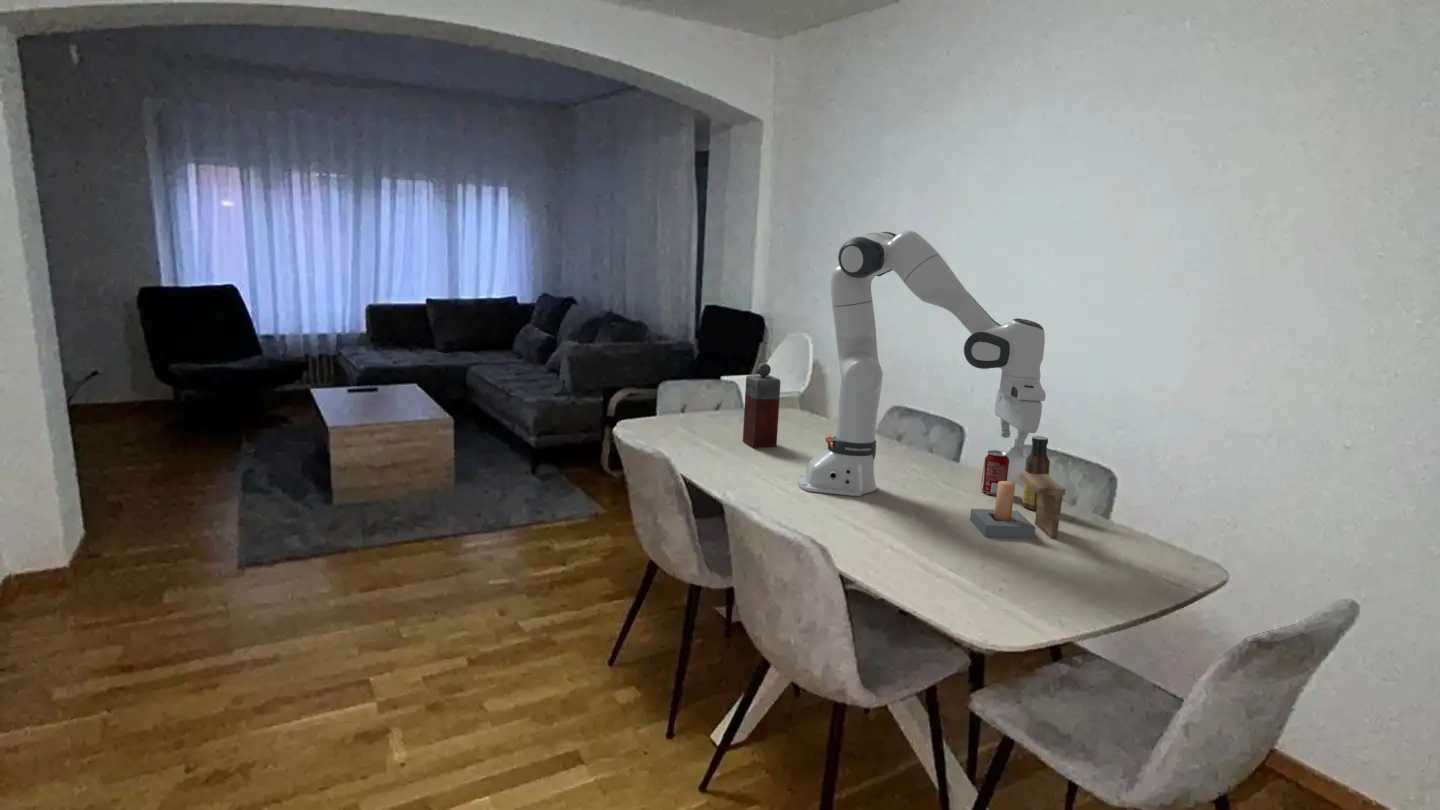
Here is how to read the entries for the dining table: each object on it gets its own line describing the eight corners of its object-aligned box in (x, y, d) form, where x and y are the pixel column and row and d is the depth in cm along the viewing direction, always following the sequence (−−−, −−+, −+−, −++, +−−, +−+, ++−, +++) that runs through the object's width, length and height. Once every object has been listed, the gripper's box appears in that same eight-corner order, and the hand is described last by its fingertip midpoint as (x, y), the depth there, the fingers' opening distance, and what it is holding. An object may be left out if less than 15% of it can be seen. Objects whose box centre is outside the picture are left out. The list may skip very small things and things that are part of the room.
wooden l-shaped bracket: (1031, 538, 193) (1038, 488, 190) (1014, 521, 204) (1020, 473, 202) (1058, 540, 193) (1065, 489, 190) (1039, 522, 205) (1045, 474, 202)
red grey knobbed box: (763, 438, 277) (767, 360, 272) (776, 447, 267) (782, 365, 261) (739, 440, 274) (743, 360, 268) (752, 448, 264) (757, 365, 258)
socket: (984, 536, 193) (986, 525, 192) (969, 519, 204) (971, 508, 204) (1033, 538, 193) (1035, 527, 192) (1015, 521, 205) (1017, 510, 204)
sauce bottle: (1044, 506, 218) (1054, 436, 214) (1046, 513, 212) (1056, 441, 208) (1019, 502, 220) (1028, 433, 216) (1020, 509, 214) (1029, 438, 210)
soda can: (1006, 497, 224) (1011, 456, 222) (981, 495, 225) (986, 454, 223) (1003, 490, 231) (1008, 450, 228) (979, 488, 232) (983, 448, 229)
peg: (995, 531, 197) (1001, 485, 194) (990, 525, 201) (996, 480, 198) (1011, 532, 197) (1017, 486, 194) (1006, 526, 201) (1011, 481, 198)
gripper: (991, 378, 201) (985, 431, 204) (1021, 394, 181) (1013, 452, 184) (1016, 379, 201) (1009, 432, 204) (1049, 395, 181) (1040, 453, 184)
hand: (1011, 442), depth 194 cm, fingers open, 8 cm apart
